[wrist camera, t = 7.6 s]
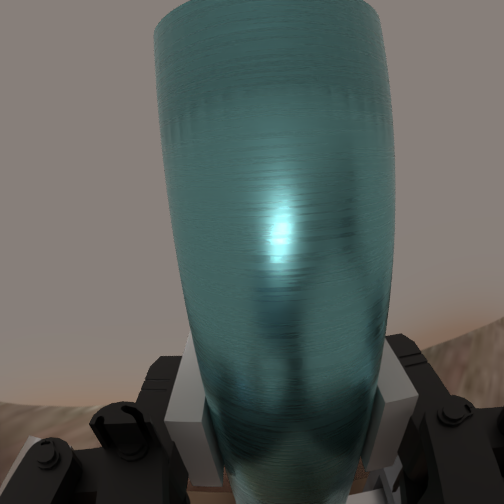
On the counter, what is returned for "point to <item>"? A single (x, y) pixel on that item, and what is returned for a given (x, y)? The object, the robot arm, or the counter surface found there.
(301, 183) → the tube
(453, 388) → the counter surface
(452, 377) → the counter surface
